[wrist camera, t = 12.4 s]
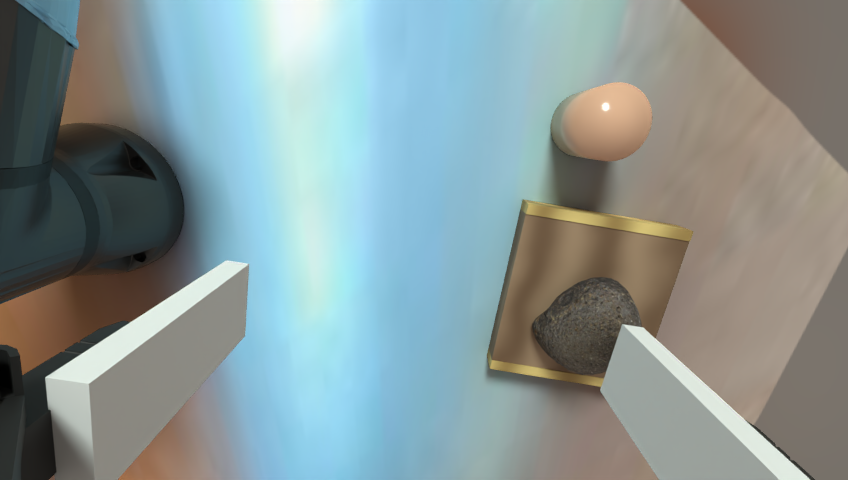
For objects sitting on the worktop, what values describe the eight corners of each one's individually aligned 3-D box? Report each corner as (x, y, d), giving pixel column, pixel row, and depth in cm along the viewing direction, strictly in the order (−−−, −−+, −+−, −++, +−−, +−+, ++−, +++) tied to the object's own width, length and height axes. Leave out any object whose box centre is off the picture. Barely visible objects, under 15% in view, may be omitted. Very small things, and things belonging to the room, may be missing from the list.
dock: (486, 355, 45) (489, 368, 42) (522, 199, 40) (528, 203, 38) (626, 378, 45) (637, 392, 43) (677, 225, 40) (693, 231, 38)
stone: (566, 348, 46) (664, 370, 38) (525, 375, 40) (631, 407, 33) (561, 263, 45) (661, 269, 37) (519, 278, 39) (626, 289, 32)
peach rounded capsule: (544, 151, 39) (566, 154, 32) (559, 86, 37) (586, 76, 31) (604, 161, 39) (638, 166, 32) (621, 97, 38) (662, 89, 31)
